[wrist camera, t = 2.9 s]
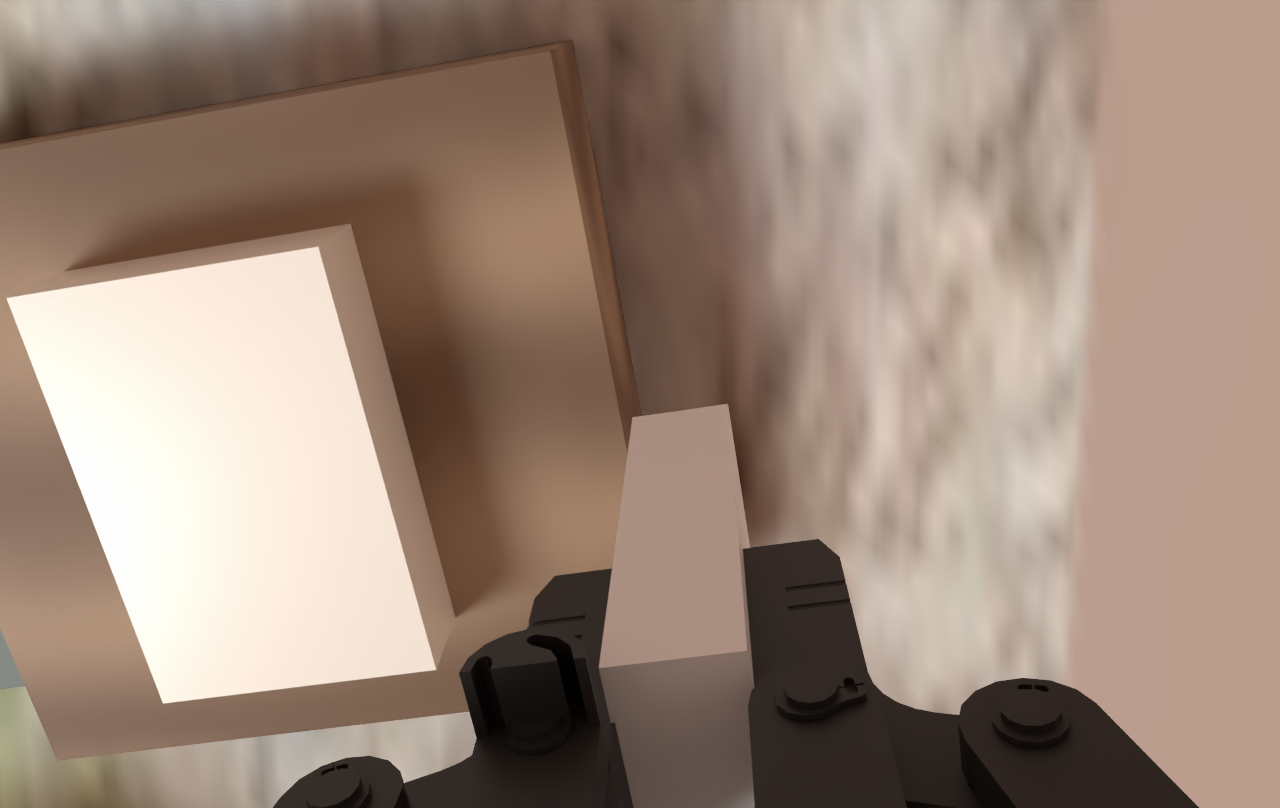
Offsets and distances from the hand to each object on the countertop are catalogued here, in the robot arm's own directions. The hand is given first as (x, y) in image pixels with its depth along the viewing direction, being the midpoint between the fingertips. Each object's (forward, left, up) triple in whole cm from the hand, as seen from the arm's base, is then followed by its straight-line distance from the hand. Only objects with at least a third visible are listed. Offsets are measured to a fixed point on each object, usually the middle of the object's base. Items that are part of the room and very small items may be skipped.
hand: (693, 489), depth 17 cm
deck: (0, +9, -9) cm, 13 cm away
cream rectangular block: (0, +9, -5) cm, 11 cm away
